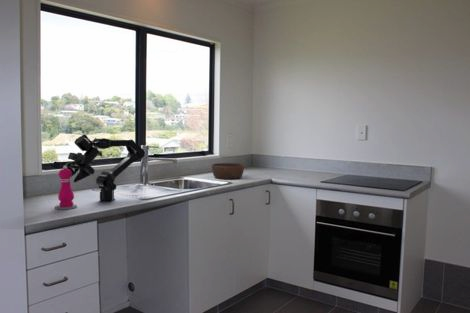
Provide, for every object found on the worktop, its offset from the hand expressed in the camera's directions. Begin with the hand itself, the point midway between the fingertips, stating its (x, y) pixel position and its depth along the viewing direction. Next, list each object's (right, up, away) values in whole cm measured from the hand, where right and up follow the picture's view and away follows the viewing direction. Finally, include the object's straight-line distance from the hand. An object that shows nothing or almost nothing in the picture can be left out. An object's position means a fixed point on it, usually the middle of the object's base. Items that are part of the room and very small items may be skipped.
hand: (69, 181), depth 202 cm
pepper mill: (-1, -12, 0) cm, 13 cm away
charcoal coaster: (-1, -13, 0) cm, 13 cm away
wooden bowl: (+76, -5, +113) cm, 137 cm away
